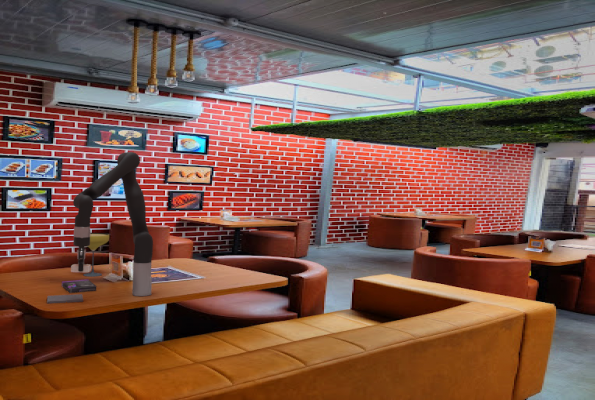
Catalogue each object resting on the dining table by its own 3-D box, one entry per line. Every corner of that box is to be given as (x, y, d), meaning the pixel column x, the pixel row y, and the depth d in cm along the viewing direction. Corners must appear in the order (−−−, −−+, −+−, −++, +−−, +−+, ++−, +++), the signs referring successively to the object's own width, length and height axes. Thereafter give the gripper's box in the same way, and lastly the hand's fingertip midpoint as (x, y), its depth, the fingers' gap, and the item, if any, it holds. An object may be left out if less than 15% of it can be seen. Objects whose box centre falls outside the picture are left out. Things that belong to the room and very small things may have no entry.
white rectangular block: (70, 272, 258) (71, 265, 257) (73, 270, 263) (74, 263, 262) (88, 272, 259) (88, 266, 259) (90, 270, 264) (90, 264, 264)
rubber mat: (82, 296, 272) (82, 294, 272) (83, 301, 261) (83, 299, 261) (47, 297, 266) (47, 295, 266) (47, 303, 255) (47, 301, 255)
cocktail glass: (102, 271, 339) (103, 232, 338) (112, 276, 325) (113, 235, 324) (72, 273, 328) (73, 233, 327) (82, 278, 314) (83, 236, 313)
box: (61, 287, 294) (68, 294, 277) (61, 281, 293) (68, 287, 277) (87, 285, 301) (96, 291, 285) (88, 278, 301) (96, 285, 285)
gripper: (74, 234, 265) (73, 267, 266) (73, 237, 252) (72, 273, 253) (90, 234, 268) (89, 267, 269) (90, 237, 255) (89, 272, 255)
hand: (80, 270), depth 261 cm, fingers closed on white rectangular block, 5 cm apart
